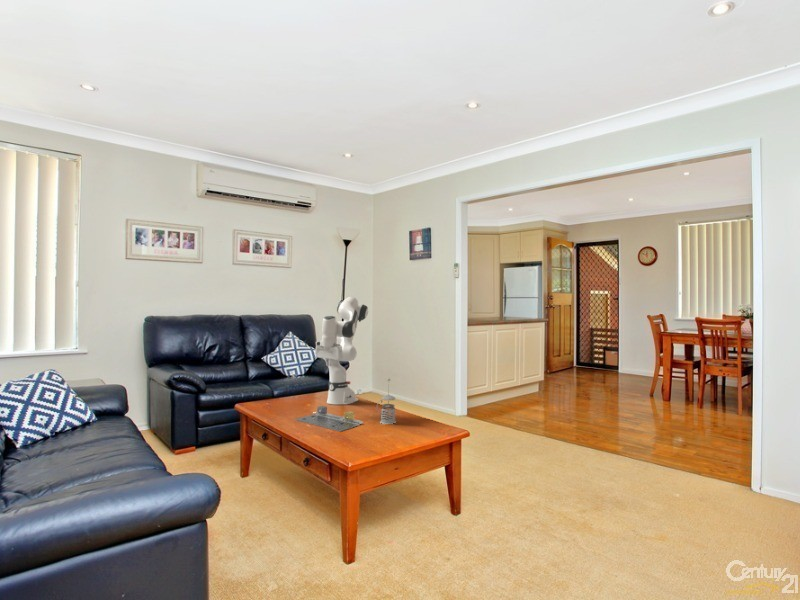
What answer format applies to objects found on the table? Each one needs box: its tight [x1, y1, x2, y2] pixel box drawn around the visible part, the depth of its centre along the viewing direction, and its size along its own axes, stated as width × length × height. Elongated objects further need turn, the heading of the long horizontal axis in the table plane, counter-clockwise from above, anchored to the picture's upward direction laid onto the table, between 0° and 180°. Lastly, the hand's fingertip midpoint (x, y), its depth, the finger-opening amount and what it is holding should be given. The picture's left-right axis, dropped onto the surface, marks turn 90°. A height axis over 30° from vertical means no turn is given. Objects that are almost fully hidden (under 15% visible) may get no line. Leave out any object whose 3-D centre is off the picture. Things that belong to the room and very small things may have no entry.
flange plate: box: [295, 413, 360, 433], centre depth 259 cm, size 14×36×1 cm, turn 53°
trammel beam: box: [312, 405, 364, 426], centre depth 265 cm, size 9×34×5 cm, turn 53°
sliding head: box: [340, 411, 355, 421], centre depth 260 cm, size 9×4×4 cm, turn 143°
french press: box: [376, 377, 397, 425], centre depth 262 cm, size 10×12×25 cm
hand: (328, 366), depth 278 cm, fingers closed
